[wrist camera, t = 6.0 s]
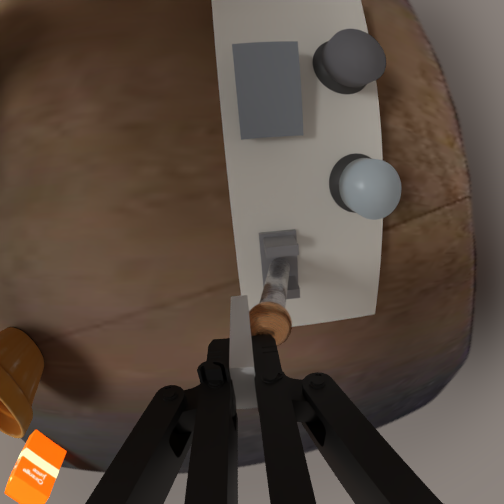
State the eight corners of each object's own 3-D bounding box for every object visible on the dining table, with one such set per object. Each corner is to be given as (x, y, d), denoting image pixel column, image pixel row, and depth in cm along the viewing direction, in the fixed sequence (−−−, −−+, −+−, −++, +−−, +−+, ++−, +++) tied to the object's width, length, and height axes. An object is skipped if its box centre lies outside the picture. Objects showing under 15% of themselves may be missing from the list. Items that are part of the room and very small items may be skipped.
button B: (339, 215, 22) (348, 221, 20) (337, 158, 20) (347, 159, 18) (388, 212, 22) (400, 217, 20) (388, 158, 20) (401, 159, 18)
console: (244, 309, 31) (246, 351, 24) (213, 3, 20) (207, -33, 13) (361, 295, 31) (386, 330, 24) (344, 3, 20) (369, -27, 13)
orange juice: (35, 428, 41) (5, 492, 22) (67, 451, 43) (43, 516, 25) (29, 435, 43) (2, 493, 24) (58, 456, 45) (35, 515, 26)
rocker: (240, 136, 20) (241, 139, 19) (232, 47, 17) (231, 44, 16) (299, 132, 20) (303, 135, 19) (293, 44, 17) (297, 41, 16)
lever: (265, 278, 24) (243, 356, 15) (263, 249, 24) (237, 317, 14) (296, 278, 24) (291, 358, 15) (295, 248, 23) (290, 318, 14)
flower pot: (17, 298, 30) (-37, 350, 17) (75, 376, 34) (40, 440, 22) (-17, 323, 31) (-59, 366, 19) (31, 387, 36) (1, 437, 24)
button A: (325, 86, 18) (333, 80, 16) (318, 35, 17) (325, 25, 15) (378, 89, 18) (389, 85, 17) (370, 40, 17) (380, 32, 15)
